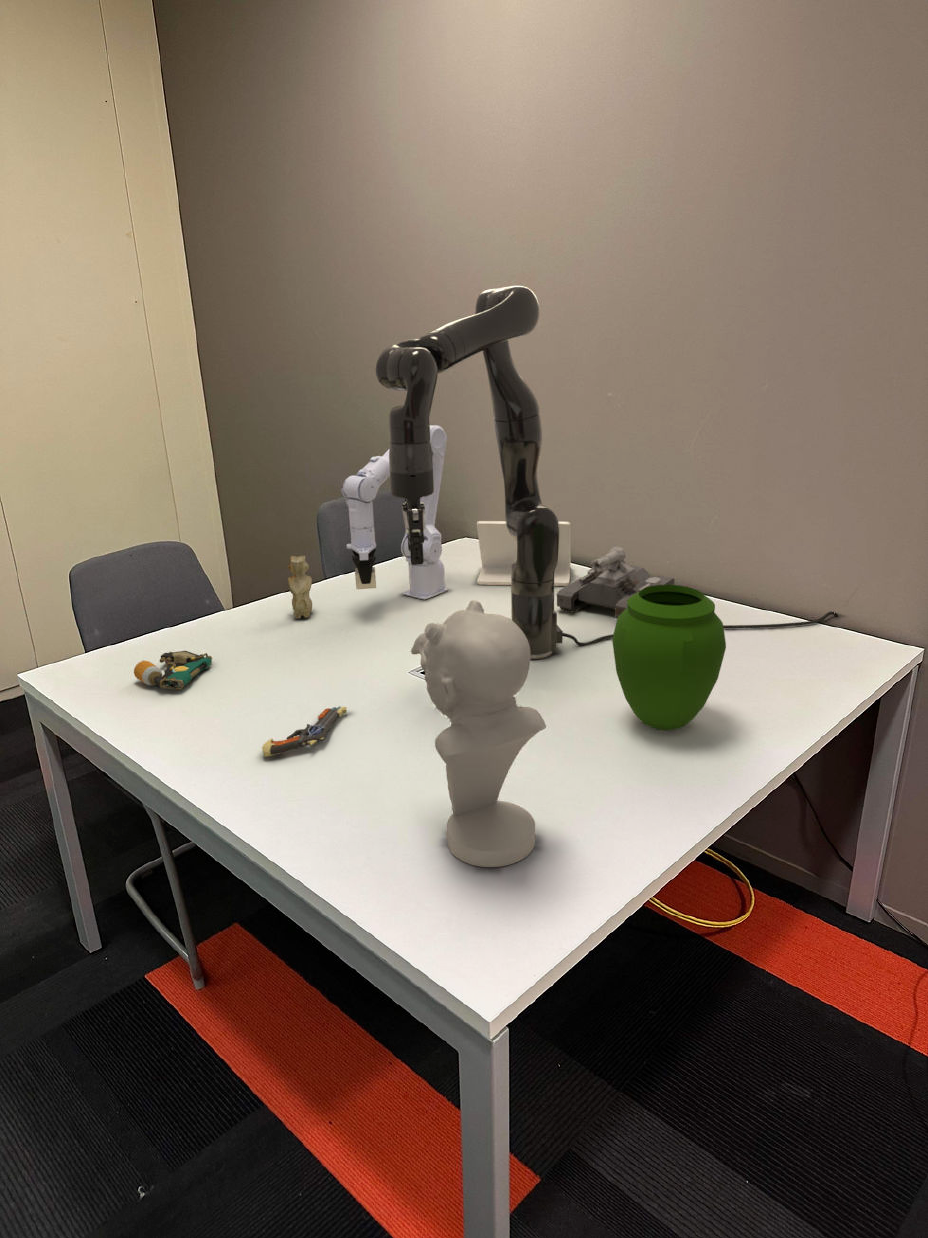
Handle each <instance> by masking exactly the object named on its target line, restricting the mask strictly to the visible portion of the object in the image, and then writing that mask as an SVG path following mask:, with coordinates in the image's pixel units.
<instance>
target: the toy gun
mask: <svg viewBox="0 0 928 1238" xmlns="http://www.w3.org/2000/svg"><path fill="white" fill-rule="evenodd" d="M347 708H348V707H347V706H340V705H339V706H337V707H336V706H333V707H332V708H325V709H324V710H323V711H322V712H321V713H320V714H319V715H318V716H317V721H316V722H315V723H314V724H309V723H307V724H306V727H305V728H302V729H295V730H294V732H293V733H291V734H290V735H288V736H287V737H286V739H283V740H274V739H273V738H269V740H266V742H264V743H263V745H262V747H261V748H262V749H261V750H262V754H263V756H264V757H267V758H268V757H272V756H275V755H276V756H277V755H280V754H283V753H287V752H290V751H293V750H298V749H300V748H303V747H306V746H309V745H310V746H313V745H314V744H316V743H318V742H319V741H321V740H324V738H325V737H327V735H328V733H329V732H330V731H331V729H332V727H333V725H334V724H335V723H336V722H337V721H338V720H339V718H341V717H342V715H344V714H347V712H348V709H347Z"/></svg>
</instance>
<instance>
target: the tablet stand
mask: <svg viewBox="0 0 928 1238" xmlns="http://www.w3.org/2000/svg"><path fill="white" fill-rule="evenodd" d="M558 523H559V551H558V563H557V566H556V568H555V572H554V587H556V586H557V587H566V586H567V585H569V584H570V580H571V579H570V578H571V565H572V564H571V560H572V558H571V522H569V521H558ZM476 531H477V537H478V544H479V551H480V557H481V558H480V559H481V570H480V573H479V575H478V577H477V580H476V581H477V582H476V584H478V585H484V586H485V585H486V586H487V585H489V586H490V585H491V586H511V566H512V564H513V563H514V562H516V560H517V541H516V540H515V539H514V538H513V537H512V536H511V535H510V533H509V532H508V529H507V526H506V520H505V521H504V520H477V522H476Z"/></svg>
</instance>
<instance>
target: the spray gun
mask: <svg viewBox="0 0 928 1238" xmlns="http://www.w3.org/2000/svg"><path fill="white" fill-rule="evenodd" d="M212 660H213V657H212V656H211V655H208V653H207V652H205V653H201V654H197V653H194V652H192V651H191V652H190V651H188V650H180V651H169V652H164V653H162V654H161V655H160V658H159V660H158V662H159V663H161V664H163V663H165V664H166V668H165V670H163V672H164V674H163V673H162V669H160V668H159V666H157V665H156V664H154V663H152V662H151V661H149V660H141V661H139V662H138V663H136V665H135V666H134V668H133V675H134V677H135V678H136V679H137V680H139V681H140V682H142V683H143V684H145V685H147V686H155V685H157V686H158V687H160V688H161V689H171V690H172V689H173V690H182V689H184V687H185V686H186V685H188V684H189V683H190V682H191V681H192V679H193V678H195V677H196V676H197V675H198V674H200V673H201V672H202V671H203V670H206V669H208V668H209V667H210V666H211V665H212V662H213V661H212ZM178 663H179V664H181V665H179V666H176V665H177V664H178Z"/></svg>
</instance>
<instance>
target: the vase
mask: <svg viewBox="0 0 928 1238" xmlns="http://www.w3.org/2000/svg"><path fill="white" fill-rule="evenodd" d="M715 609H716V604H715V602H714V601H713V600H712V599H711V598H710V597H708V596H707V595H705V594H704V593H703V592H701V591H700V590H698V589H695V588H693V587H688V586H684V585H679V584H678V585H677V584H674V585H656V586H650V587H646V588H644V589H642V590H640V591H639V592H638V593H636V594H634V595H632V596H631V597H630V598H629V599H628V601H627V608H626V609H625V610H624V611H623V612H622V613H621V614H620V615H619V616H618V619H617V618H616V624H615V627H614V631H613V638H611V641H612V642H611V643H612V649H613V656H614V657H613V658H614V664H615V665H614V666H615V671H616V676H617V678H618V681H619V685H620V687H621V690H622V693H623V696H624V699H625V700H626V703H627V704H628V705H629V707H630V709H631V711H632V712H633V714H634V716H636V717H637V718H638V720H639V721H640V722H641V723H642V724H643V725H645V726H647V727H649V728H651V729H654V730H660V731H674V730H679V729H682V728H684V727H686V726H687V725H688V724H689V723H691V722H692V720H694V719H695V718H696V716H697V715H698V714H699V713H700V712H701V710H702V709H703V708H704V707H705V705H706V703H707V702H708V700H709V697H710V695H711V693H712V691H713V689H714V688H715V685H716V684H717V681H718V679H719V676H720V672H721V669H722V664H723V660H724V658H725V657H724V656H725V653H726V650H727V641H726V635H725V629H724V627H723V625H724V623H723V622H722V621H723V620H721V619H720V617H719V616H718V615H717V614H716V612H715Z"/></svg>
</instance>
